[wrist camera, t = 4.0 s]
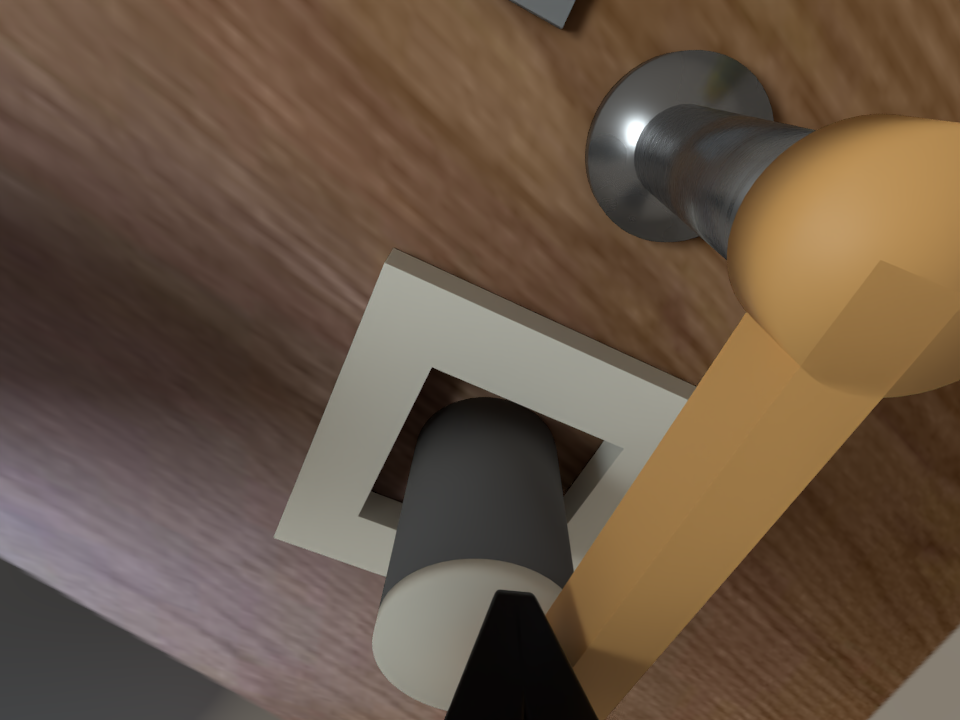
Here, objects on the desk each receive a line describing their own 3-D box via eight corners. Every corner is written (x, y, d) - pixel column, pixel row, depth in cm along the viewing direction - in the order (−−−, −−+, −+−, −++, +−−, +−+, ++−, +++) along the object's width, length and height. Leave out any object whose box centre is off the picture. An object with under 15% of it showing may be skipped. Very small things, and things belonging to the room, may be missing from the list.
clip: (413, 753, 12) (402, 832, 11) (818, 72, 6) (906, 76, 4) (524, 780, 12) (527, 860, 11) (1023, 169, 6) (1161, 196, 5)
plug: (394, 481, 18) (343, 679, 12) (449, 375, 16) (420, 549, 10) (516, 527, 19) (523, 734, 13) (583, 431, 17) (626, 624, 11)
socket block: (286, 510, 19) (273, 537, 17) (393, 247, 14) (384, 262, 13) (550, 605, 20) (552, 634, 19) (718, 397, 16) (734, 420, 15)
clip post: (553, 191, 13) (599, 304, 7) (647, 14, 12) (816, -43, 5) (693, 261, 14) (846, 420, 8) (800, 104, 12) (1111, 148, 6)
